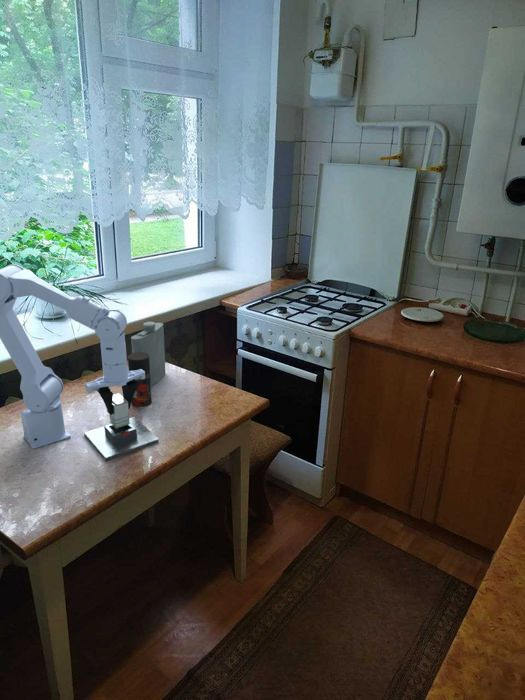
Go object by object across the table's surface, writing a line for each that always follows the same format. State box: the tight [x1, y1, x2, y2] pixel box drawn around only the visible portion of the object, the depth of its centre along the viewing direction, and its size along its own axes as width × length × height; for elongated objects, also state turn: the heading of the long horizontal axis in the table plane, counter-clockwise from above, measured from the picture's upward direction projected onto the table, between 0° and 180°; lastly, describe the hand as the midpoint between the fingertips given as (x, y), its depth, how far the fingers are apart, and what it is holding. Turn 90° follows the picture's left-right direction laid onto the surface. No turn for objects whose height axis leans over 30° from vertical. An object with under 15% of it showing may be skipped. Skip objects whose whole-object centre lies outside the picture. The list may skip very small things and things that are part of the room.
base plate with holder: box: [83, 416, 160, 462], centre depth 127 cm, size 14×14×4 cm
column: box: [108, 393, 130, 428], centre depth 124 cm, size 4×5×7 cm
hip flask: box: [130, 321, 167, 388], centre depth 155 cm, size 16×4×20 cm, turn 161°
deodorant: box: [127, 352, 153, 409], centre depth 143 cm, size 6×6×15 cm
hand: (118, 410), depth 124 cm, fingers open, 4 cm apart
